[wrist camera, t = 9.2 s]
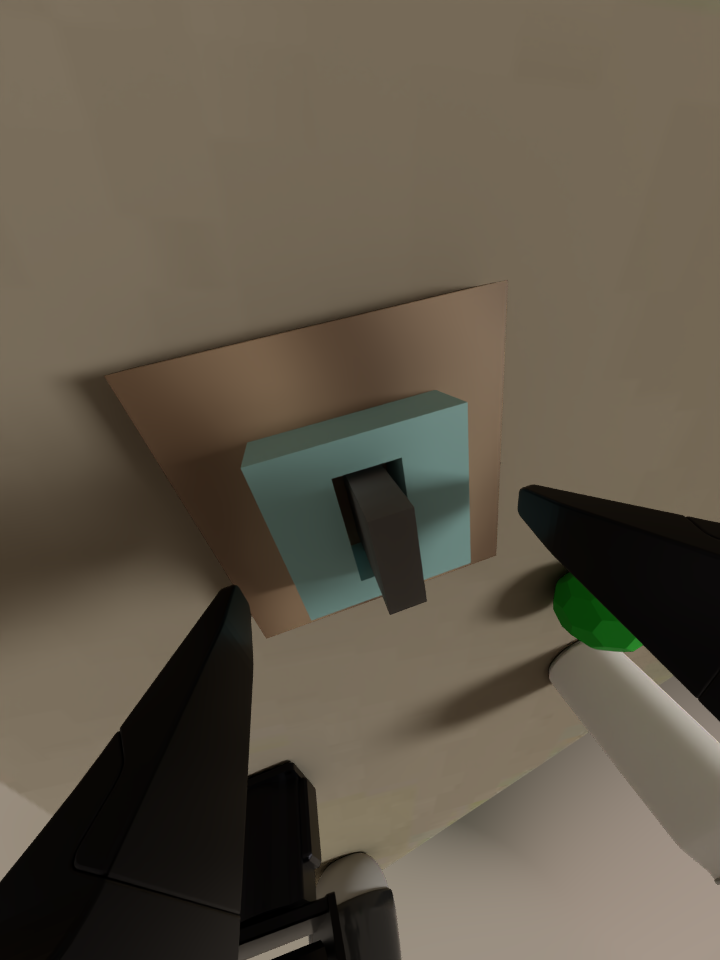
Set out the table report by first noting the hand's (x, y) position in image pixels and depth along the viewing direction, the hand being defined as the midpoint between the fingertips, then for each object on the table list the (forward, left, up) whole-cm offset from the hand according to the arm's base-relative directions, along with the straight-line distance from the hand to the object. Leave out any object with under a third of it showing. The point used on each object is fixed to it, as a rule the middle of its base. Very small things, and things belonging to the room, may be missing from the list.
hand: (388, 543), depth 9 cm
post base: (0, 0, -4) cm, 4 cm away
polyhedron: (+13, -13, -5) cm, 19 cm away
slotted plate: (0, 0, -3) cm, 3 cm away
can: (+16, -25, -5) cm, 30 cm away
